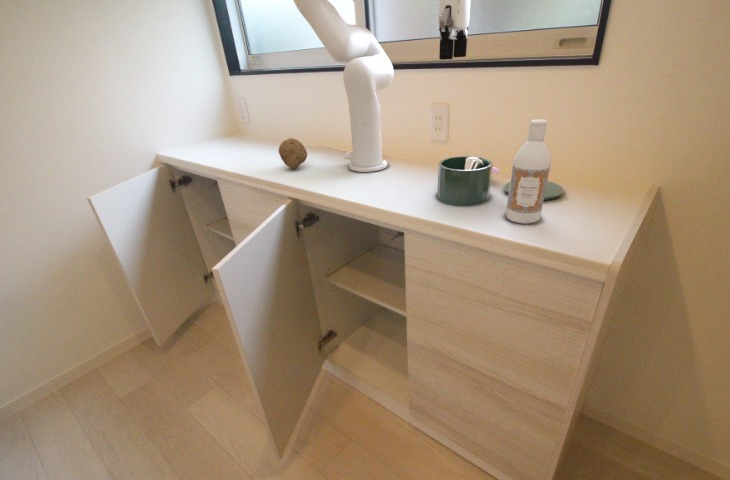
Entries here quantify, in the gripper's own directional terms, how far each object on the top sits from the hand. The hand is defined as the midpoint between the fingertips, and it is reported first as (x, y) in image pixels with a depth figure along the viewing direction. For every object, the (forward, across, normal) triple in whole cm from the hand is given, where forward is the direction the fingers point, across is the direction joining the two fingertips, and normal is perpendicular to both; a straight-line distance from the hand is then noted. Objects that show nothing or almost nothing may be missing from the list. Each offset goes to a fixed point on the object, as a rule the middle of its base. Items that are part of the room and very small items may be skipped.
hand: (453, 58), depth 90 cm
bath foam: (+31, +21, +25) cm, 45 cm away
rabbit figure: (+31, -2, +7) cm, 31 cm away
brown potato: (+31, +8, -51) cm, 60 cm away
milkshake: (+29, +15, +9) cm, 34 cm away
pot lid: (+30, +4, +24) cm, 38 cm away
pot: (+30, +13, +9) cm, 34 cm away
